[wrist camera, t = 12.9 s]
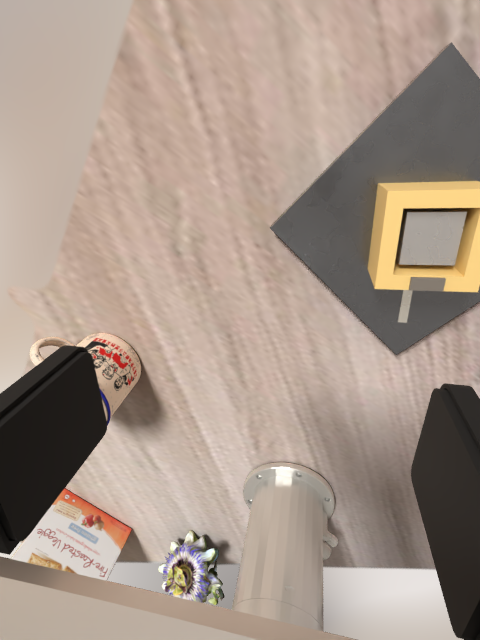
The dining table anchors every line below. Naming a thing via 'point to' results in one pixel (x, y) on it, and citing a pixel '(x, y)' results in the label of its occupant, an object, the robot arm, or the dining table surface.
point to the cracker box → (75, 539)
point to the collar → (475, 245)
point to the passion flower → (192, 571)
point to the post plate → (390, 158)
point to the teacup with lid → (104, 365)
